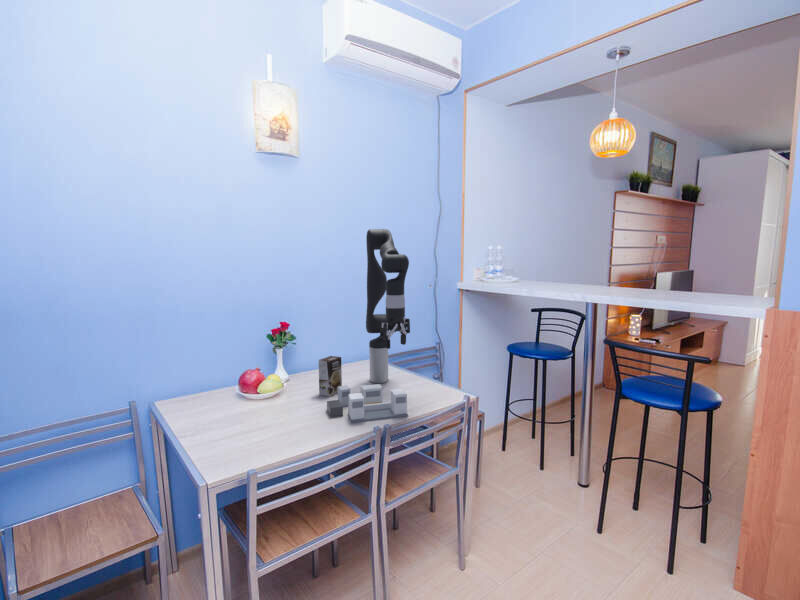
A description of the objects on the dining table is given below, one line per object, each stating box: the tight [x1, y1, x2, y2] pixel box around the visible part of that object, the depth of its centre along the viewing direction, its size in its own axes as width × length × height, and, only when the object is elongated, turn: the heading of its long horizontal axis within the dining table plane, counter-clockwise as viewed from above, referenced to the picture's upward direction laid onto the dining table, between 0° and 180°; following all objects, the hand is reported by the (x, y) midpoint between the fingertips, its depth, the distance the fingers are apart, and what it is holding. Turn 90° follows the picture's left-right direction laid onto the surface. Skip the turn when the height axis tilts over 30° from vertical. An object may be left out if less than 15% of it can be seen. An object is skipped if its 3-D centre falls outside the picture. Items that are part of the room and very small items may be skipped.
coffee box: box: [318, 355, 343, 397], centre depth 188 cm, size 9×6×16 cm
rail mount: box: [347, 388, 409, 424], centre depth 163 cm, size 9×22×9 cm, turn 105°
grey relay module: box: [337, 384, 351, 407], centre depth 175 cm, size 5×4×7 cm
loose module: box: [360, 383, 384, 405], centre depth 173 cm, size 5×8×8 cm, turn 105°
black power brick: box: [326, 399, 344, 418], centre depth 166 cm, size 8×5×4 cm, turn 19°
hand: (395, 346), depth 164 cm, fingers open, 8 cm apart
